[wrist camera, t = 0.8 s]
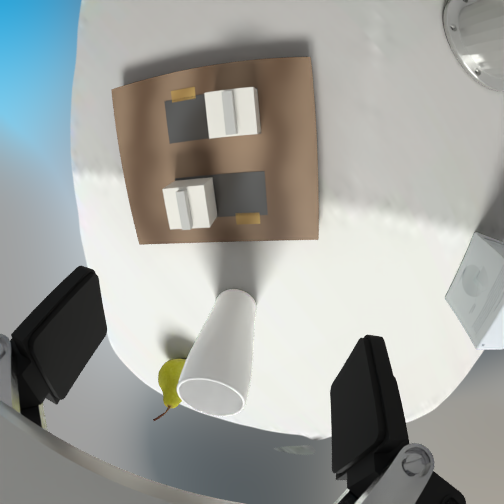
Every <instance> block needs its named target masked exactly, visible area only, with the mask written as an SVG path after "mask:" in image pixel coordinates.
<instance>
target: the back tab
mask: <svg viewBox="0 0 504 504" xmlns="http://www.w3.org/2000/svg"><path fill="white" fill-rule="evenodd" d="M162 190H163V195H164V201H165V206H166V211H167V217H168V222H169V227H170V229H182V230H191V228H210V227H211V225H212V224H213V222H214V221H215V219H216V218H217V209H216V201H215V194H214V186H213V178H212V177H210V178H199V179H189V180H179V181H174V182H172V183H171V184H169V185H168V186H166V187H165V188H163V189H162Z"/></svg>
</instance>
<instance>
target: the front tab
mask: <svg viewBox="0 0 504 504" xmlns="http://www.w3.org/2000/svg"><path fill="white" fill-rule="evenodd" d="M204 95H205V104H206V114H207V123H208V132H209V139H211V138H220V137H229V136H240V135H253V134H258V133H260V132H261V126H260V115H259V104H258V93H257V89H256V88H254V87H246V88H236V89H228V90H220V91H213V92H206V93H204Z"/></svg>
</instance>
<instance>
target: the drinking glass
mask: <svg viewBox="0 0 504 504" xmlns="http://www.w3.org/2000/svg"><path fill="white" fill-rule="evenodd" d="M256 310H257V307H256V303H255V301H254V299H253V298H252V296H251V295H249V294H248V293H247V292H245V291H242V290H239V289H229V290H226V291H223V292H222V293H221V294H219V296H218V297H217V299H216V301H215V304H214V306H213V308H212V310H211V312H210V314H209V316H208V318H207V320H206V322H205V324H204V326H203V327H202V329H201V331H200V333H199V335H198V337H197V339H196V341H195V342H194V344H193V346H192V348H191V350H190V352H189V354H188V356H187V359H186V361H185V364H184V366H183V369H182V372H181V375H180V378H179V381H178V384H177V394H178V396H179V397H180V399H181V400H182V401H183V402H184V403H185V404H187V405H188V406H189V407H191V408H193V409H195V410H197V411H199V412H202V413H205V414H208V415H213V416H231V415H235V414H237V413H239V412H241V411H242V410H243V409H244V408H245V405H246V401H247V397H248V393H249V388H250V383H251V376H252V365H253V346H254V328H255V316H256Z"/></svg>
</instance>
